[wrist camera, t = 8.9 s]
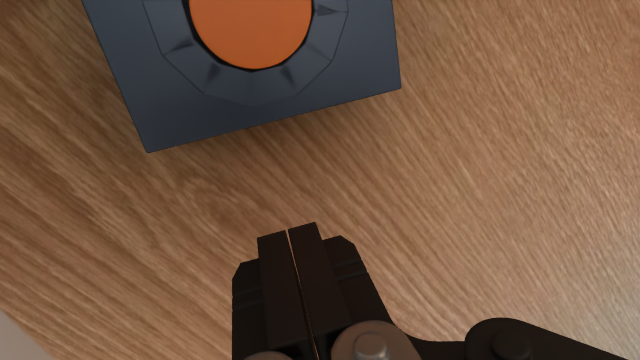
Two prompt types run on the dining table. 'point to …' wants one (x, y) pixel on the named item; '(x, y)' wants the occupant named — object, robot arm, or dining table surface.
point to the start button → (251, 29)
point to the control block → (239, 68)
